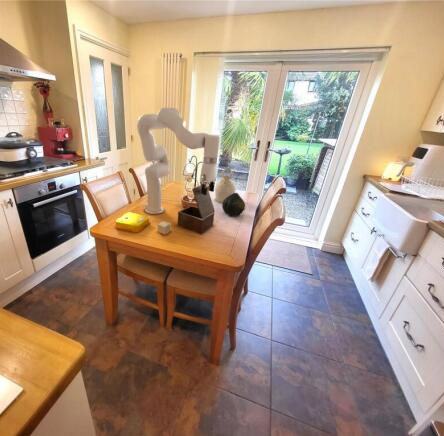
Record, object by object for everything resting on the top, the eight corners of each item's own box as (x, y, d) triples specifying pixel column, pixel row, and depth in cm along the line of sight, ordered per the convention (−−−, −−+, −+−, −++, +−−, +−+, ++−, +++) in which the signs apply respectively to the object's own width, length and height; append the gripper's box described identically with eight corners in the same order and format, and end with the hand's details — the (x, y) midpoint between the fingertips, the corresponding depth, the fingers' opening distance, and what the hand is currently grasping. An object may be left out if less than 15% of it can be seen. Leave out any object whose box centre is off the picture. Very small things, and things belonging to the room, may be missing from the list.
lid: (191, 188, 125) (199, 186, 122) (205, 183, 135) (212, 181, 132) (201, 219, 128) (209, 218, 124) (213, 211, 138) (221, 210, 134)
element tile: (137, 233, 129) (137, 225, 127) (114, 228, 134) (114, 220, 132) (150, 222, 142) (150, 215, 140) (128, 218, 147) (128, 211, 145)
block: (157, 232, 132) (157, 224, 130) (163, 228, 135) (163, 221, 133) (164, 234, 129) (164, 226, 127) (170, 231, 133) (170, 223, 130)
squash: (226, 212, 147) (242, 193, 146) (214, 204, 160) (229, 187, 159) (239, 223, 155) (253, 205, 154) (226, 215, 167) (240, 199, 167)
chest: (177, 225, 140) (178, 211, 137) (190, 218, 150) (191, 205, 146) (200, 234, 131) (202, 220, 128) (212, 225, 141) (214, 212, 138)
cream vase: (219, 195, 192) (222, 165, 181) (237, 200, 184) (241, 168, 173) (210, 200, 180) (213, 168, 170) (228, 205, 172) (233, 172, 162)
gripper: (212, 156, 129) (209, 187, 136) (195, 161, 116) (192, 195, 124) (224, 159, 125) (221, 190, 132) (208, 163, 112) (205, 198, 120)
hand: (207, 192), depth 128 cm, fingers open, 7 cm apart
